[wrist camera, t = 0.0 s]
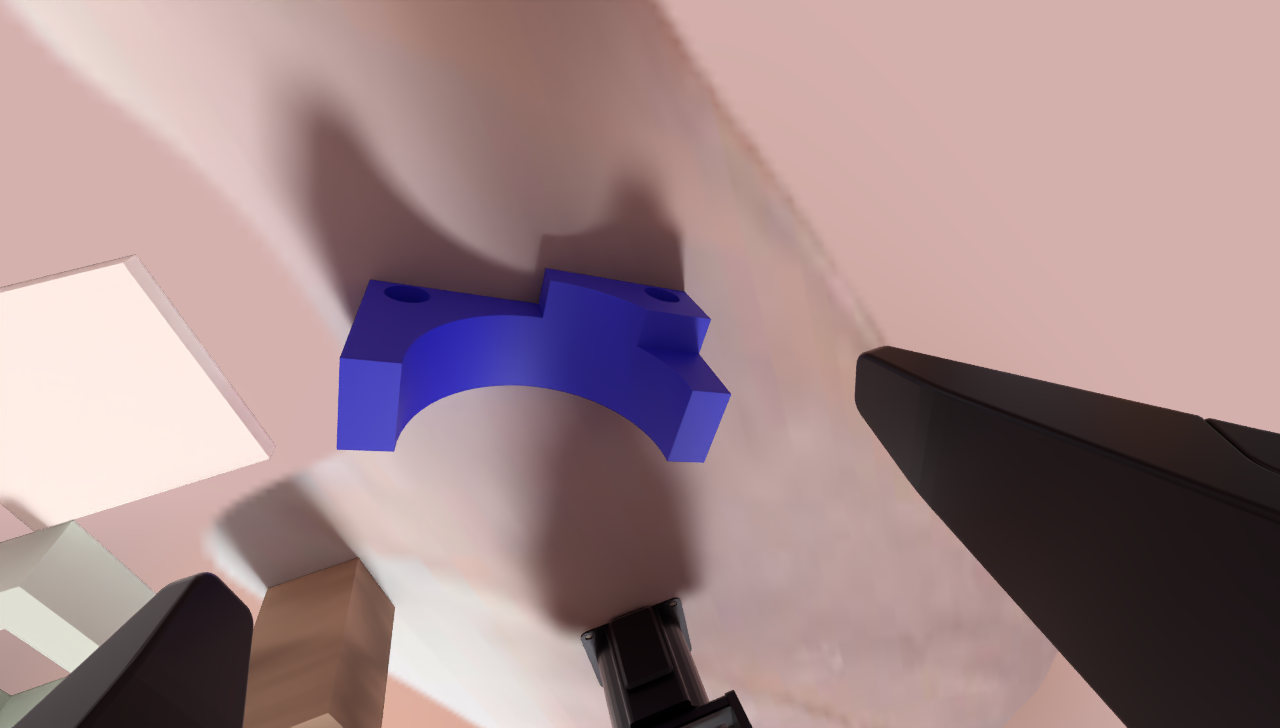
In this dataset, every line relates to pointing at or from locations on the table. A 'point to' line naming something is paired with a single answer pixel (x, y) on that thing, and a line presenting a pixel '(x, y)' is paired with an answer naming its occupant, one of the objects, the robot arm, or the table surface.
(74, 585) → the frame
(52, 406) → the tile
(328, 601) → the walnut peg block
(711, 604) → the table surface
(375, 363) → the cable clip
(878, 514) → the table surface
